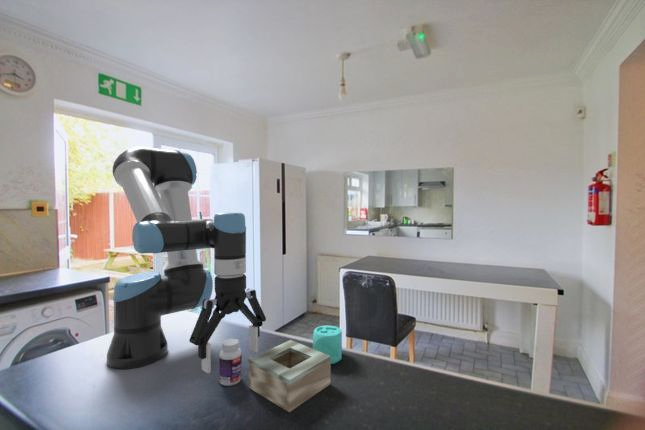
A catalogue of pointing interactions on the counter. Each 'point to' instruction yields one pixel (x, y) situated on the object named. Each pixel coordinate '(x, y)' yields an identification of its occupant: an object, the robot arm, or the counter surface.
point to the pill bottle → (230, 363)
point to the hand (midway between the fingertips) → (231, 360)
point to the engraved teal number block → (328, 341)
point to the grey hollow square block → (289, 374)
